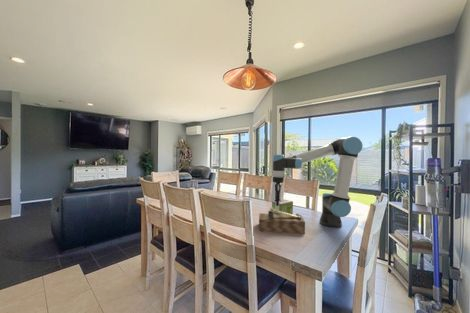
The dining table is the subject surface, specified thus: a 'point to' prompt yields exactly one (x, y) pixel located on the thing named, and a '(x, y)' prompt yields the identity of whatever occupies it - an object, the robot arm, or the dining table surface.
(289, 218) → the walnut chest
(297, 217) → the latch bar
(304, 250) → the dining table surface
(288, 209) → the tea box
